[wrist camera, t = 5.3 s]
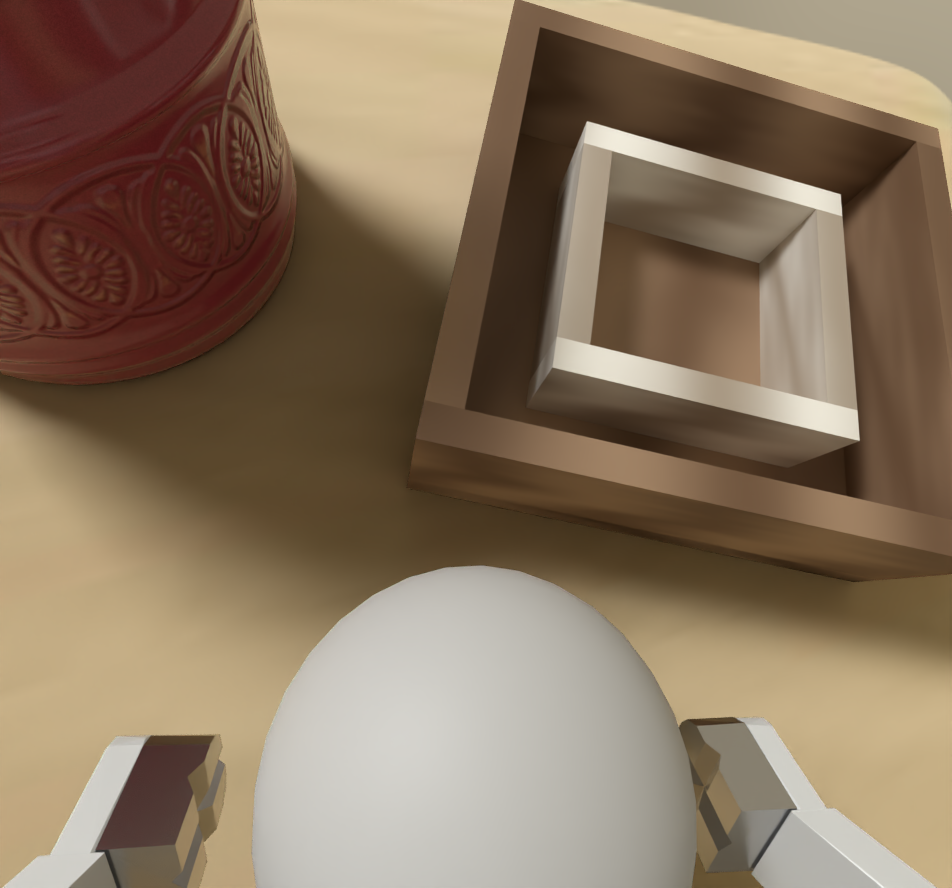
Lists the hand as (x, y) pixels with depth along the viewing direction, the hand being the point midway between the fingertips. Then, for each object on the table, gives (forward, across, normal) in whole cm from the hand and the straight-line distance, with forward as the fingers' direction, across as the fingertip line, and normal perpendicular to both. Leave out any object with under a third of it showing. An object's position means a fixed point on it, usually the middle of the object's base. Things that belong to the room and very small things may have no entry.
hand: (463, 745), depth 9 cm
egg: (+5, 0, +5) cm, 7 cm away
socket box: (+13, -8, -4) cm, 16 cm away
